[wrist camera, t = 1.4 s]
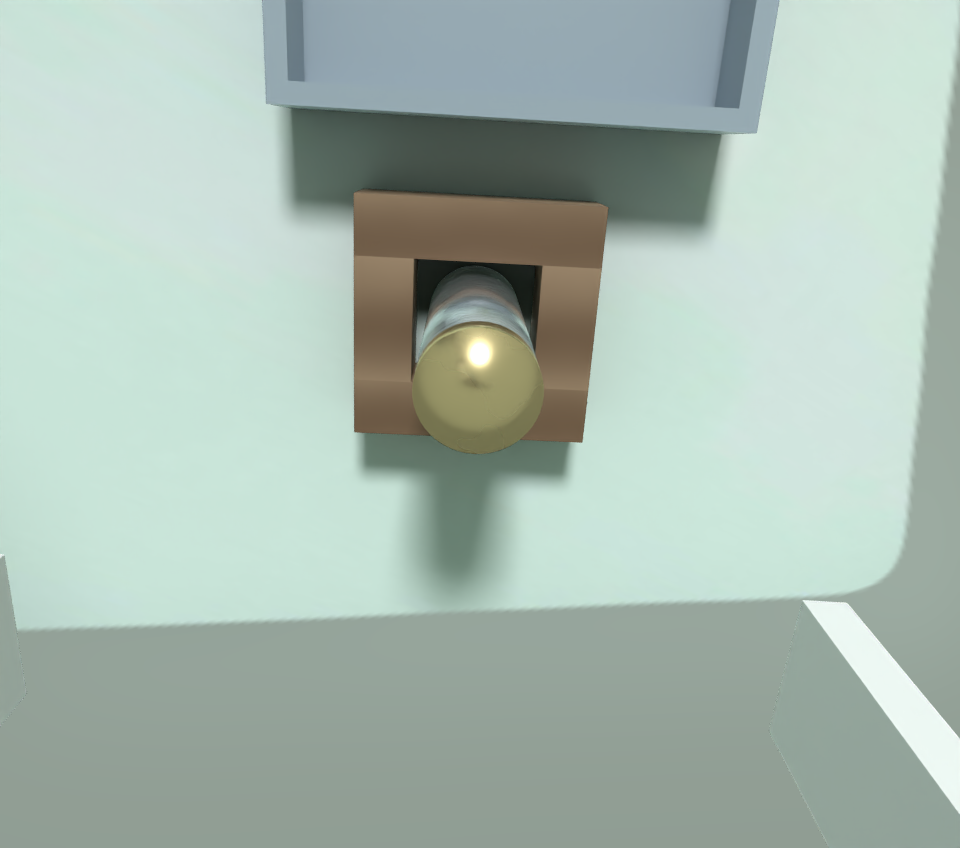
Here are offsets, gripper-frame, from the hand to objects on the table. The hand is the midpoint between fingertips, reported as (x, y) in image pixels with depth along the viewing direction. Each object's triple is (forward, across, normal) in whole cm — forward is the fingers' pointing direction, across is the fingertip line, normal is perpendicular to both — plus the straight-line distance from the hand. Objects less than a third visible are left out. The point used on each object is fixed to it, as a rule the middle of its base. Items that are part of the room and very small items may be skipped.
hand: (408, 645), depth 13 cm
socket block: (+23, +1, +1) cm, 23 cm away
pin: (+23, +1, +1) cm, 23 cm away
